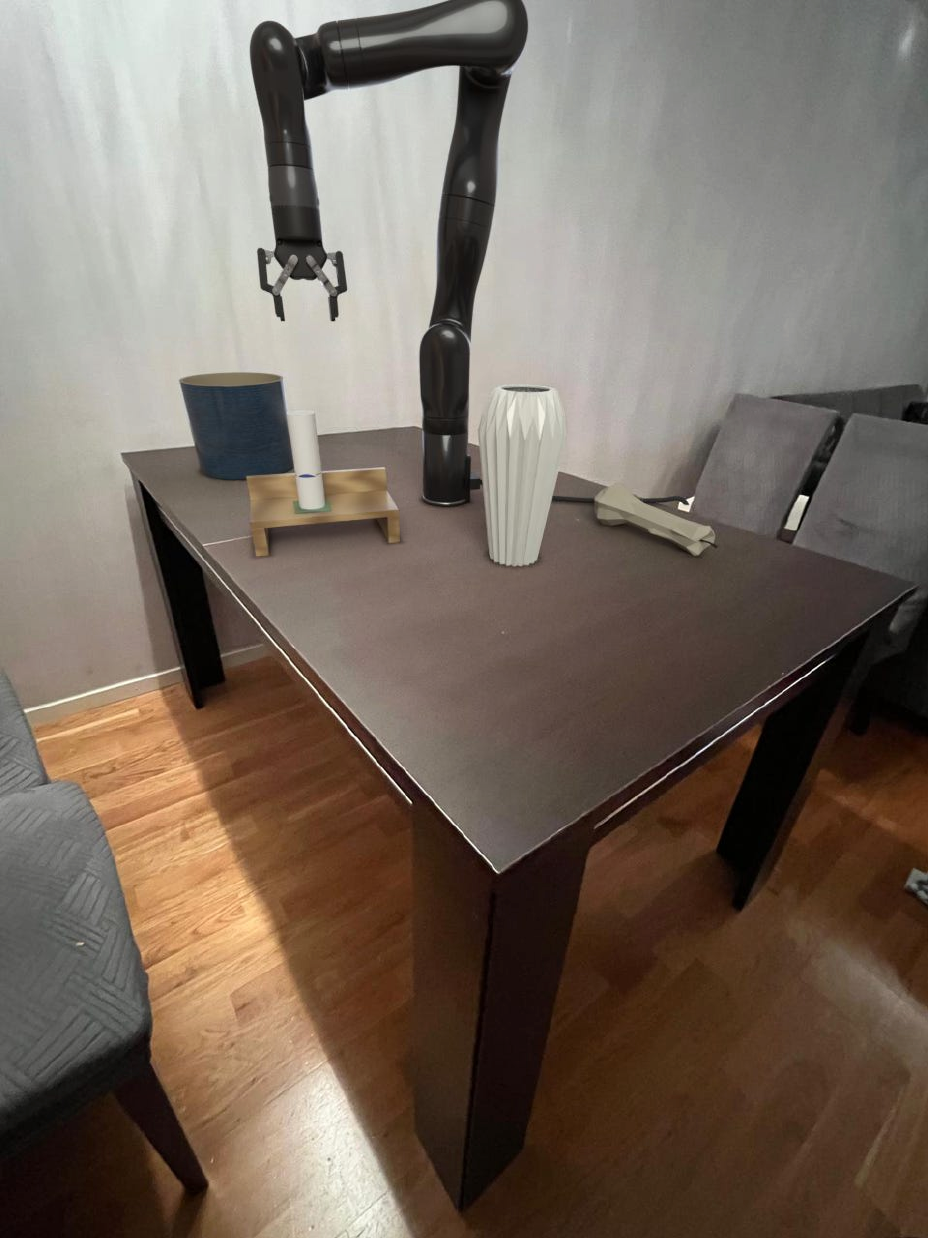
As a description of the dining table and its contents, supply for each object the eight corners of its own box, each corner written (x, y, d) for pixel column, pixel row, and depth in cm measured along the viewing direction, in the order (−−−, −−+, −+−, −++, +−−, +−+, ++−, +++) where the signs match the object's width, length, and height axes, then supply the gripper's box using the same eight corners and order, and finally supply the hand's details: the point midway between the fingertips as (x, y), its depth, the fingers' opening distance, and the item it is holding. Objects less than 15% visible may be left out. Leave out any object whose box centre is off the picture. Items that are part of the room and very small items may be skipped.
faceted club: (610, 508, 111) (727, 553, 95) (583, 528, 107) (699, 578, 92) (611, 469, 105) (737, 510, 89) (582, 488, 101) (707, 535, 86)
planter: (195, 461, 138) (175, 374, 127) (285, 452, 147) (273, 370, 136) (204, 485, 121) (182, 387, 110) (304, 474, 130) (292, 382, 119)
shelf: (387, 518, 106) (384, 466, 101) (400, 542, 96) (397, 486, 91) (256, 530, 99) (246, 475, 94) (256, 556, 89) (244, 497, 84)
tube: (314, 499, 96) (303, 409, 88) (330, 504, 93) (320, 412, 86) (294, 505, 93) (280, 412, 85) (309, 511, 91) (297, 416, 83)
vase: (487, 578, 85) (496, 396, 71) (464, 544, 96) (468, 382, 82) (566, 569, 88) (589, 394, 74) (535, 538, 99) (550, 380, 85)
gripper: (337, 211, 92) (346, 320, 101) (248, 205, 88) (265, 319, 97) (343, 205, 86) (351, 322, 95) (247, 199, 82) (265, 321, 91)
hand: (308, 320), depth 96 cm, fingers open, 8 cm apart
